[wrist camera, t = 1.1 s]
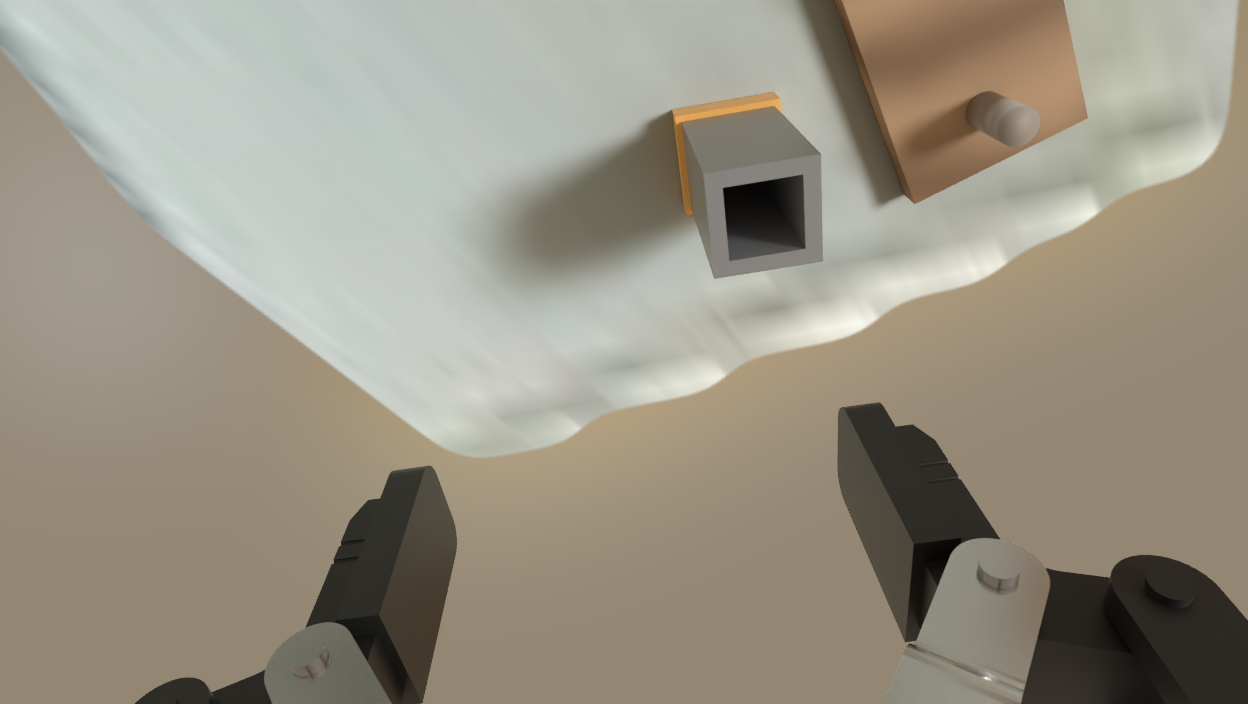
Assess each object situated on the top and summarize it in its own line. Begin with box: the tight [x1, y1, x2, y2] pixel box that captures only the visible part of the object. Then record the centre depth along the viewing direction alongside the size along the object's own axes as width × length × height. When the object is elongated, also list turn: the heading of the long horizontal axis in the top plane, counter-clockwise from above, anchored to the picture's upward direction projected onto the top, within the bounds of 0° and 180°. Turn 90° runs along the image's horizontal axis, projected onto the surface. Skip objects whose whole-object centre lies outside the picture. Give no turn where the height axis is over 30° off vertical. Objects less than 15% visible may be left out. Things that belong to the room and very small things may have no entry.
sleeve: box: [672, 92, 823, 279], centre depth 33 cm, size 5×5×10 cm
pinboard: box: [834, 0, 1088, 204], centre depth 32 cm, size 15×9×5 cm, turn 29°
